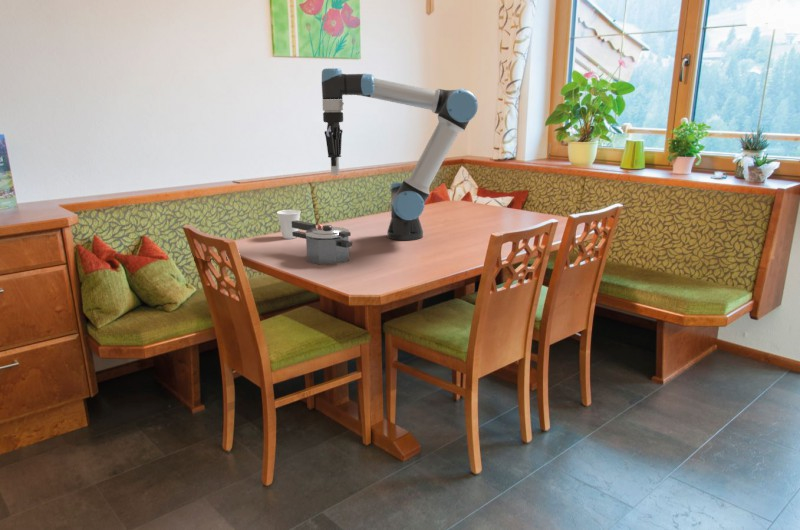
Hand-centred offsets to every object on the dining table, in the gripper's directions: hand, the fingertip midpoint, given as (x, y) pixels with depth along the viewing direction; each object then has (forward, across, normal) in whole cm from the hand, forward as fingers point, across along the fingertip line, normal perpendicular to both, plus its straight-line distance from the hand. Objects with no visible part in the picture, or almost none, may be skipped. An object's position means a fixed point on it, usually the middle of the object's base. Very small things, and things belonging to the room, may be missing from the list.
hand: (335, 174), depth 234 cm
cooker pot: (+28, -18, -1) cm, 34 cm away
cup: (+29, +9, +25) cm, 39 cm away
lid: (+19, -18, 0) cm, 26 cm away
